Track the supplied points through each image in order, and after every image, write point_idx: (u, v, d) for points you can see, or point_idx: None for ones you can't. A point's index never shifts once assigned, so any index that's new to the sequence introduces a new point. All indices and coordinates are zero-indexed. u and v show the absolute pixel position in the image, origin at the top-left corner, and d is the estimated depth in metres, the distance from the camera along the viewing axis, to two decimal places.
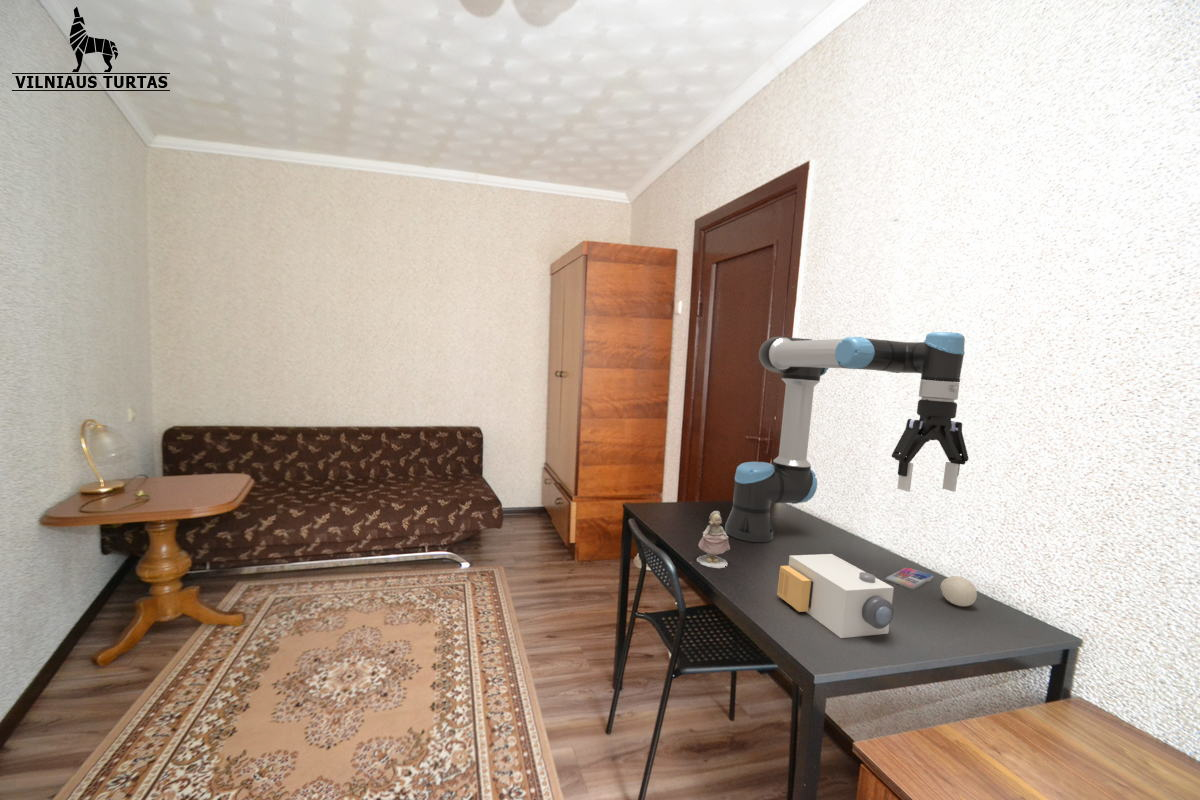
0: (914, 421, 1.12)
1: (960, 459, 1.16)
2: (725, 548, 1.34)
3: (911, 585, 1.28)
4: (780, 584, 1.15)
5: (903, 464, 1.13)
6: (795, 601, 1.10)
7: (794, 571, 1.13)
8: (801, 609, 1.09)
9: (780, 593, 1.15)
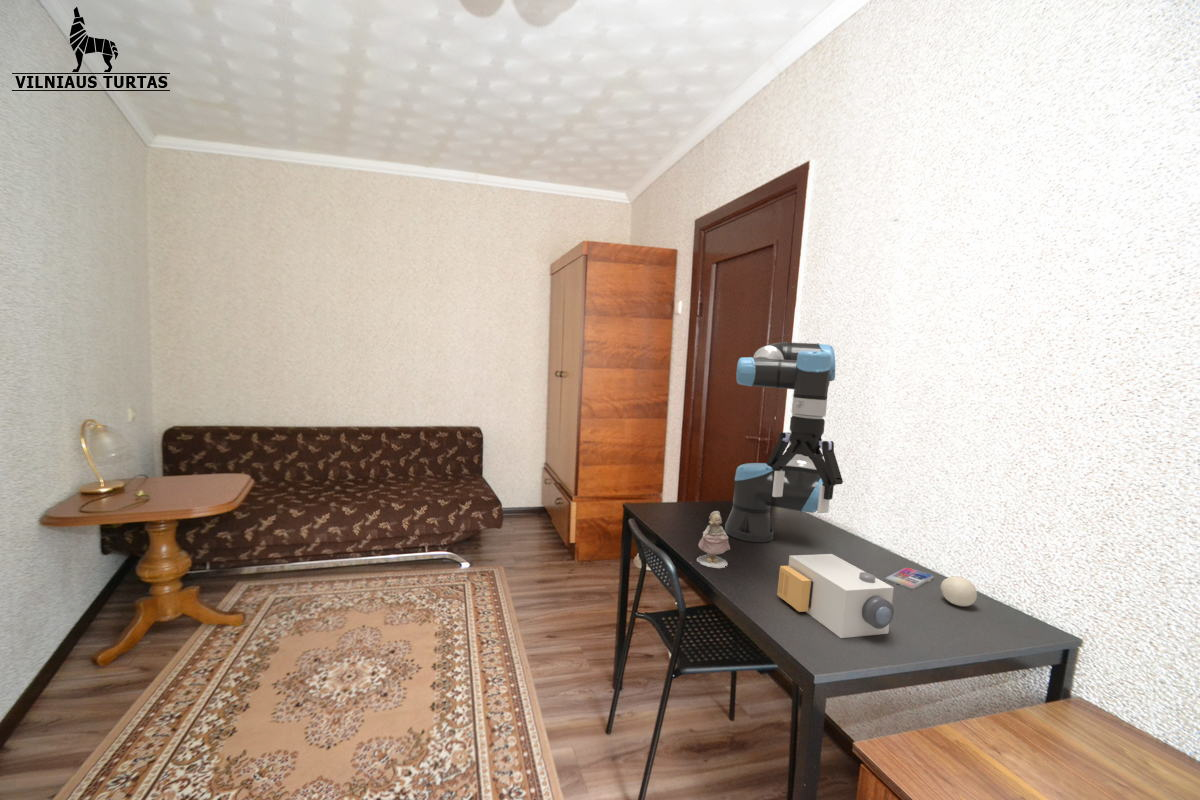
0: None
1: (825, 480, 1.11)
2: (725, 548, 1.34)
3: (911, 585, 1.28)
4: (780, 584, 1.15)
5: None
6: (795, 601, 1.10)
7: (794, 571, 1.13)
8: (801, 609, 1.09)
9: (780, 593, 1.15)
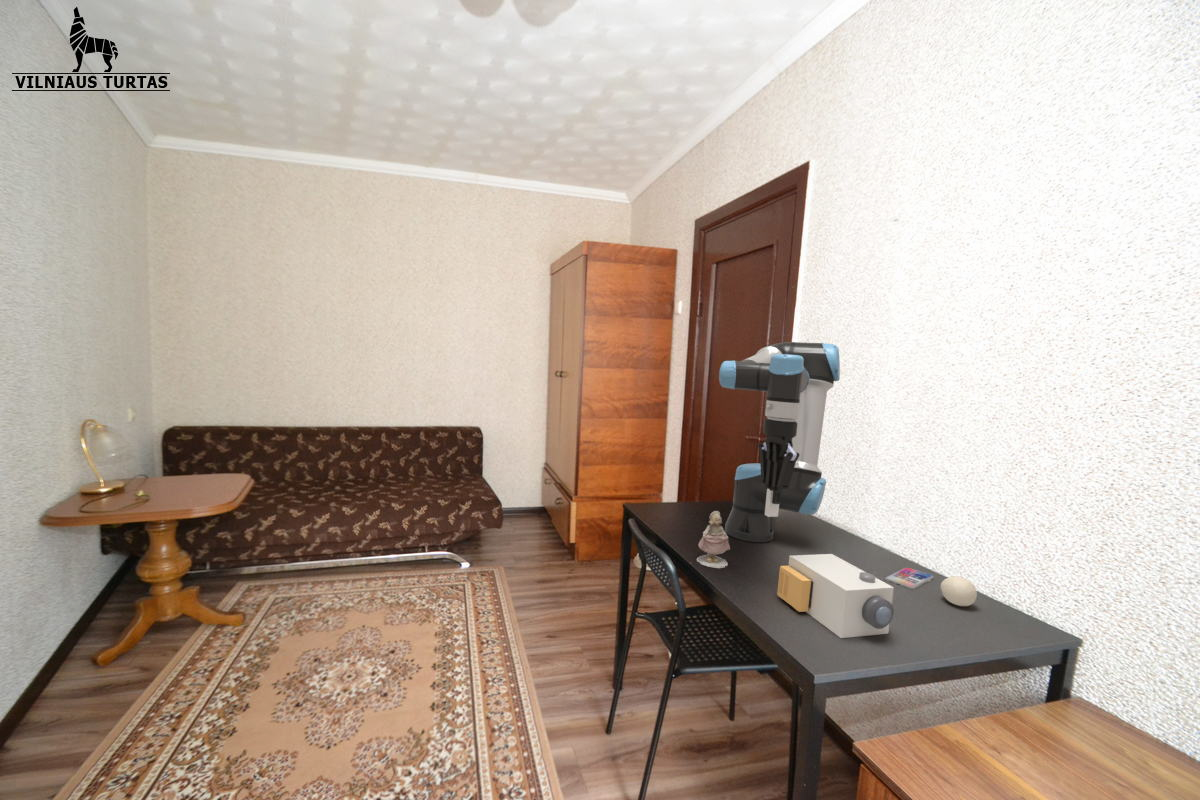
0: None
1: (773, 486, 1.18)
2: (725, 548, 1.34)
3: (911, 585, 1.28)
4: (780, 584, 1.15)
5: None
6: (795, 601, 1.10)
7: (794, 571, 1.13)
8: (801, 609, 1.09)
9: (780, 593, 1.15)
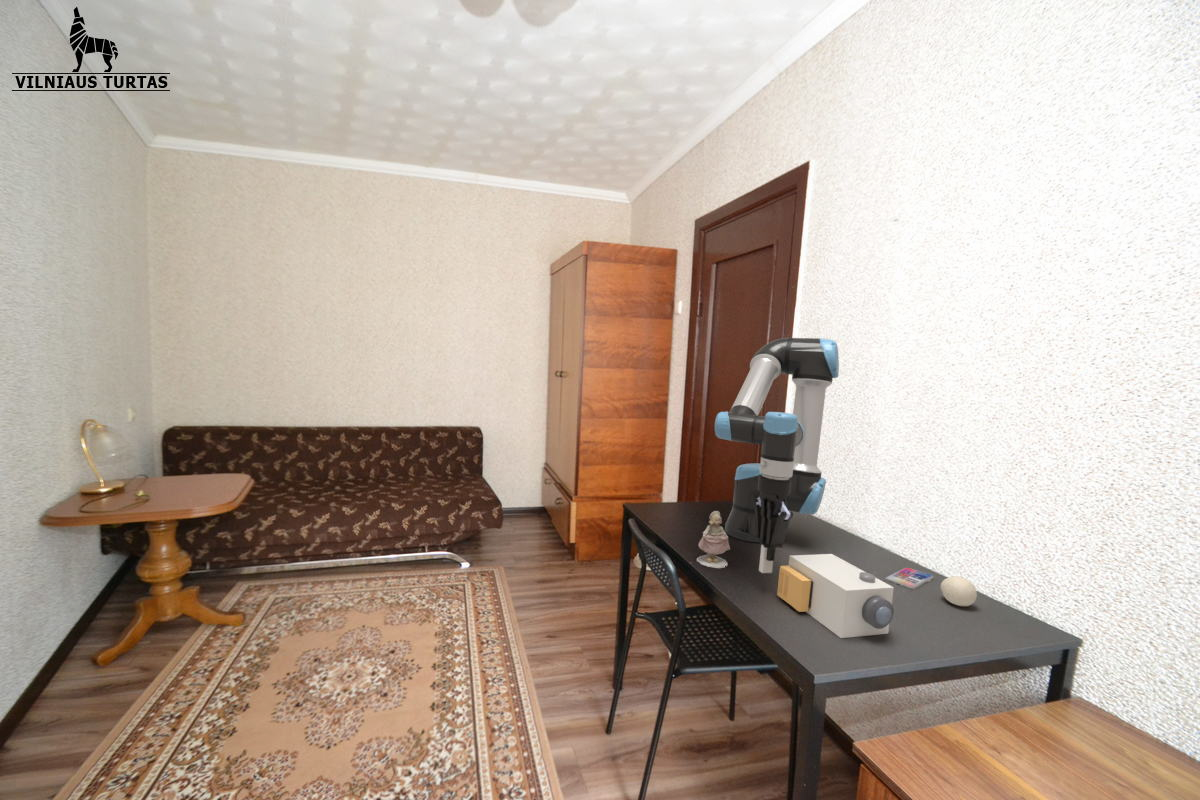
0: None
1: (767, 543, 1.18)
2: (725, 548, 1.34)
3: (911, 585, 1.28)
4: (780, 584, 1.15)
5: None
6: (795, 601, 1.10)
7: (794, 571, 1.13)
8: (801, 609, 1.09)
9: (780, 593, 1.15)
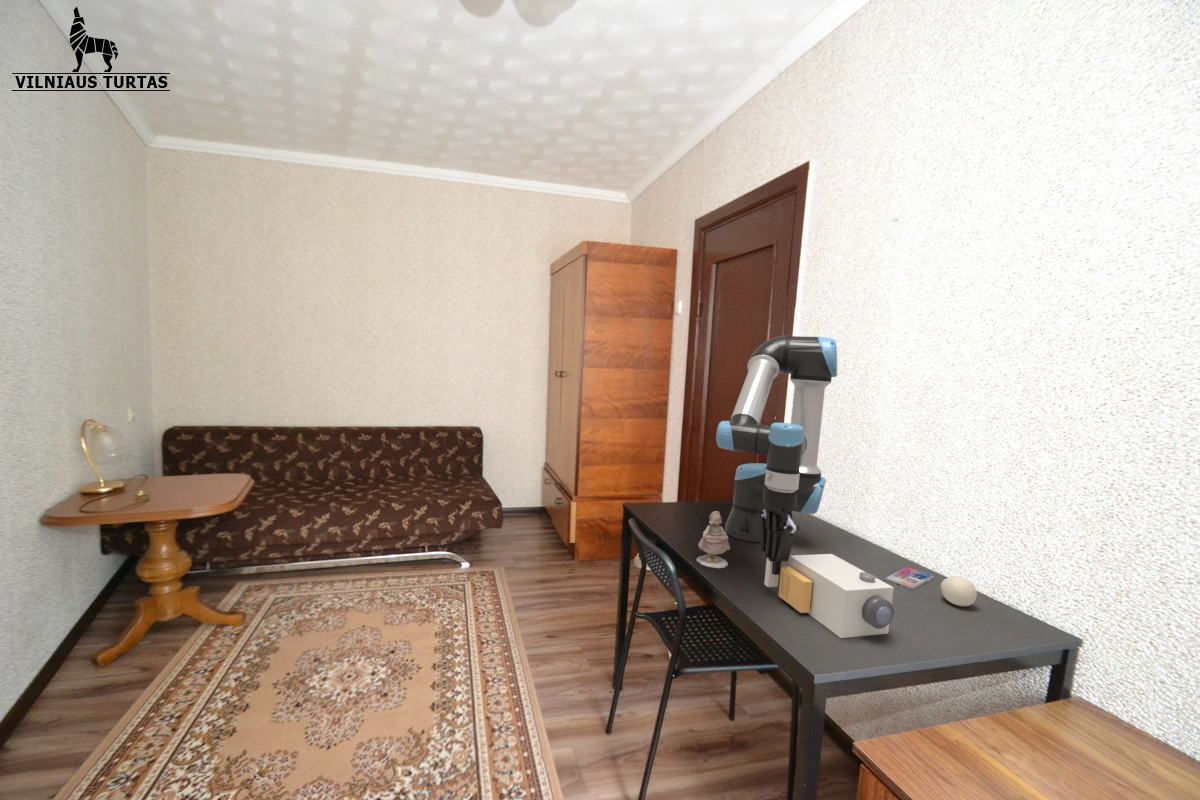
0: None
1: (773, 557, 1.16)
2: (725, 548, 1.34)
3: (911, 585, 1.28)
4: (781, 585, 1.15)
5: None
6: (797, 602, 1.10)
7: (795, 572, 1.13)
8: (802, 610, 1.08)
9: (781, 594, 1.15)
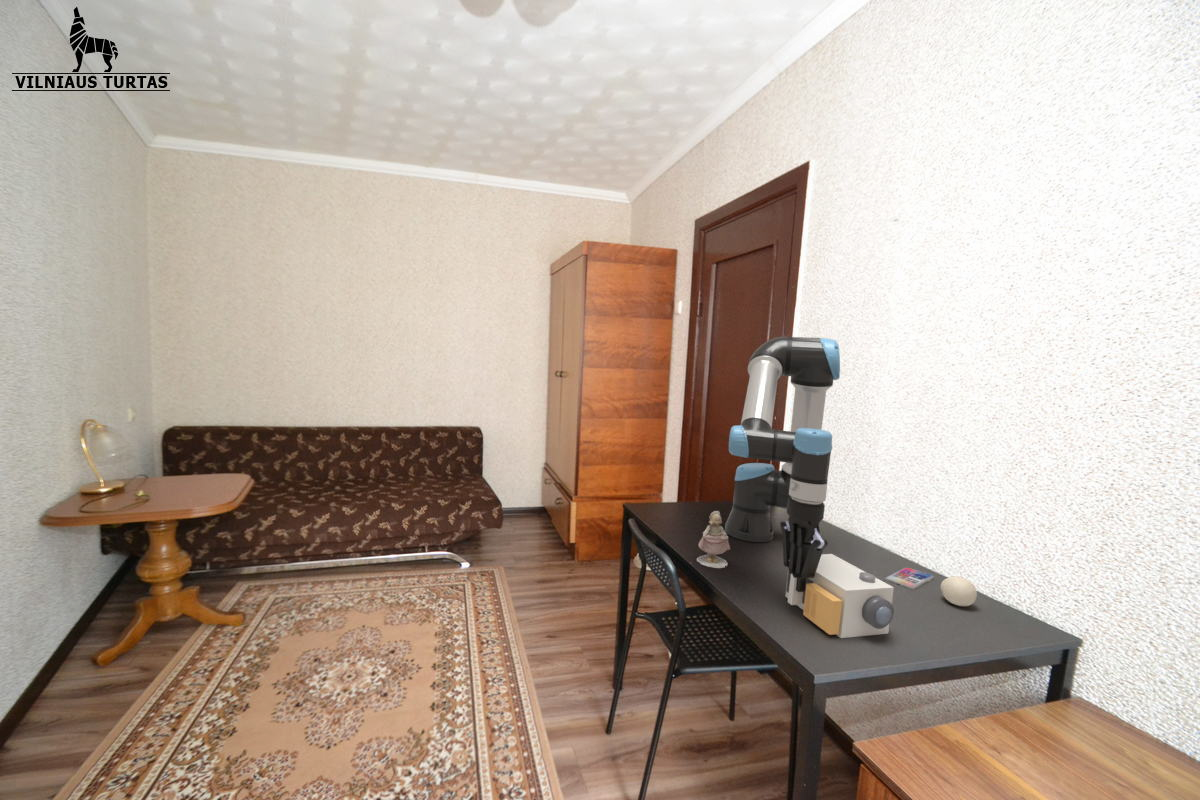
0: None
1: (798, 573, 1.08)
2: (725, 548, 1.34)
3: (911, 585, 1.28)
4: (807, 603, 1.06)
5: None
6: (825, 623, 1.01)
7: (822, 590, 1.04)
8: (831, 632, 1.00)
9: (807, 613, 1.06)
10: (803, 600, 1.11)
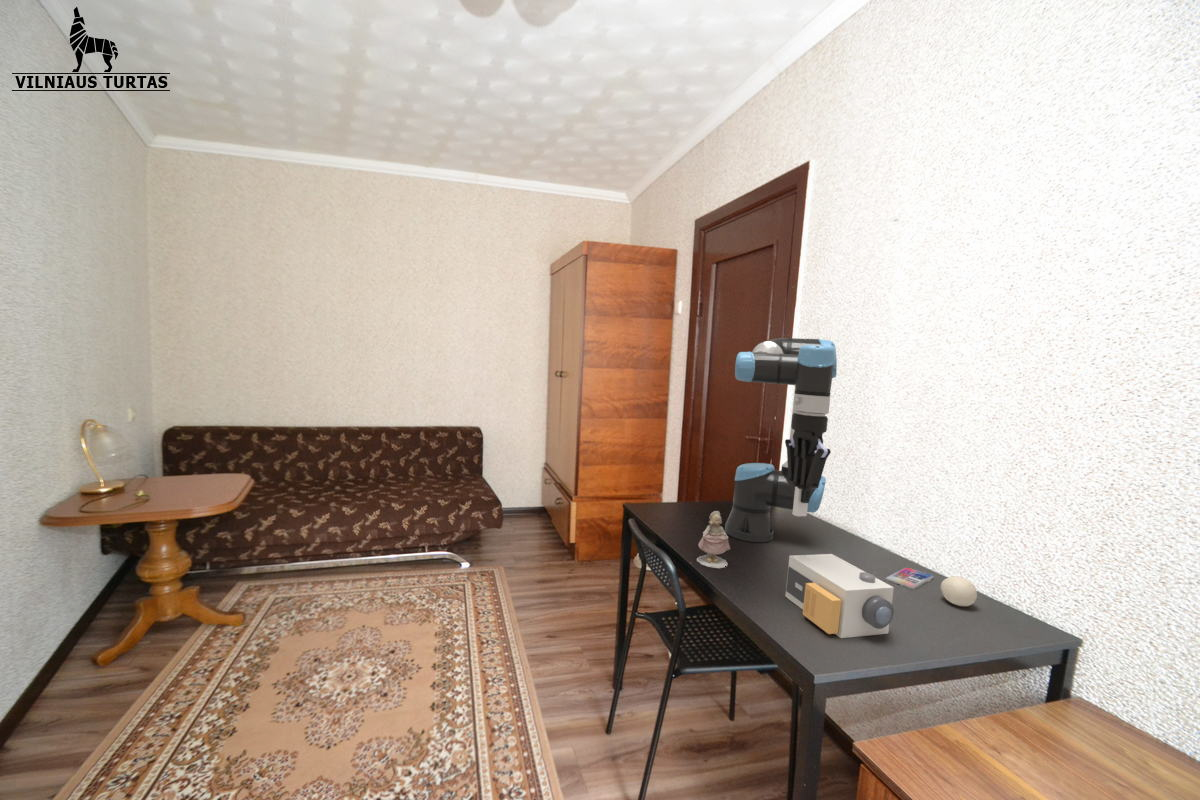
0: None
1: (802, 484, 1.12)
2: (725, 548, 1.34)
3: (911, 585, 1.28)
4: (806, 603, 1.07)
5: None
6: (824, 622, 1.01)
7: (822, 589, 1.05)
8: (830, 631, 1.00)
9: (806, 613, 1.07)
10: (803, 600, 1.11)
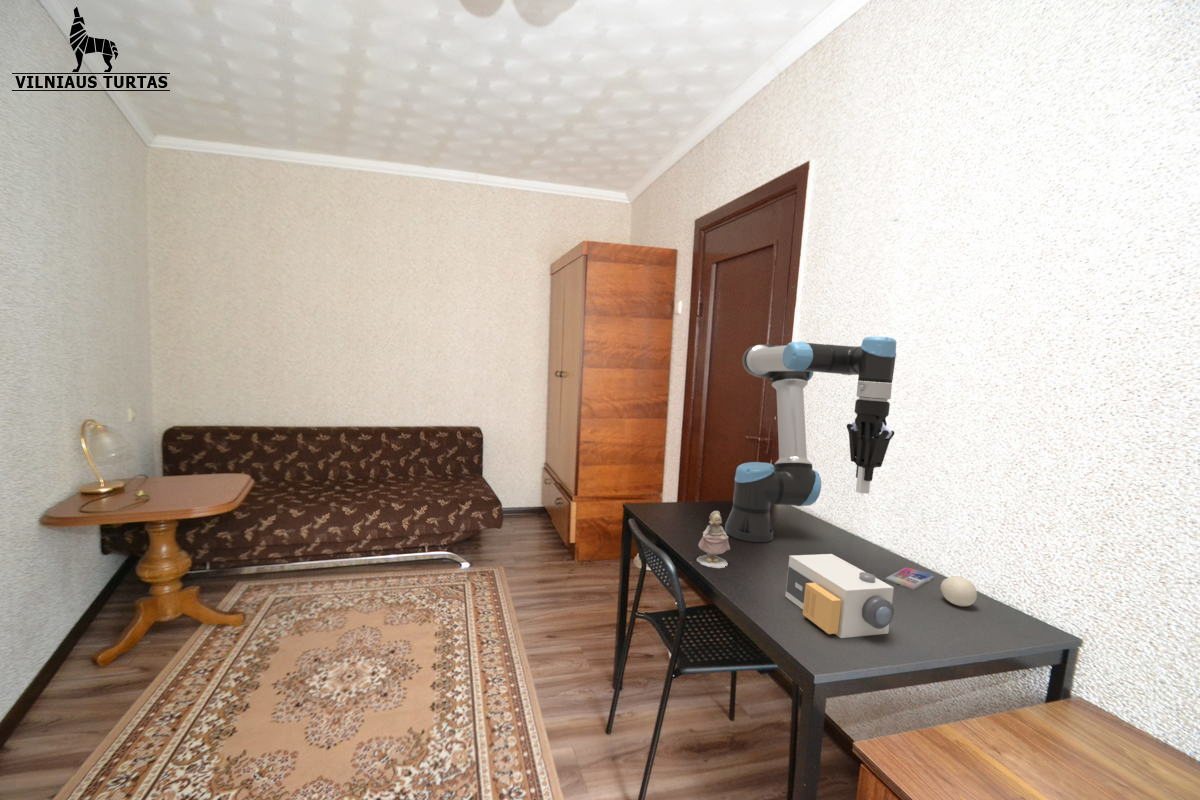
0: None
1: (866, 464, 1.22)
2: (725, 548, 1.34)
3: (911, 585, 1.28)
4: (806, 603, 1.07)
5: None
6: (824, 622, 1.01)
7: (822, 589, 1.05)
8: (830, 631, 1.00)
9: (806, 613, 1.07)
10: (803, 600, 1.11)
